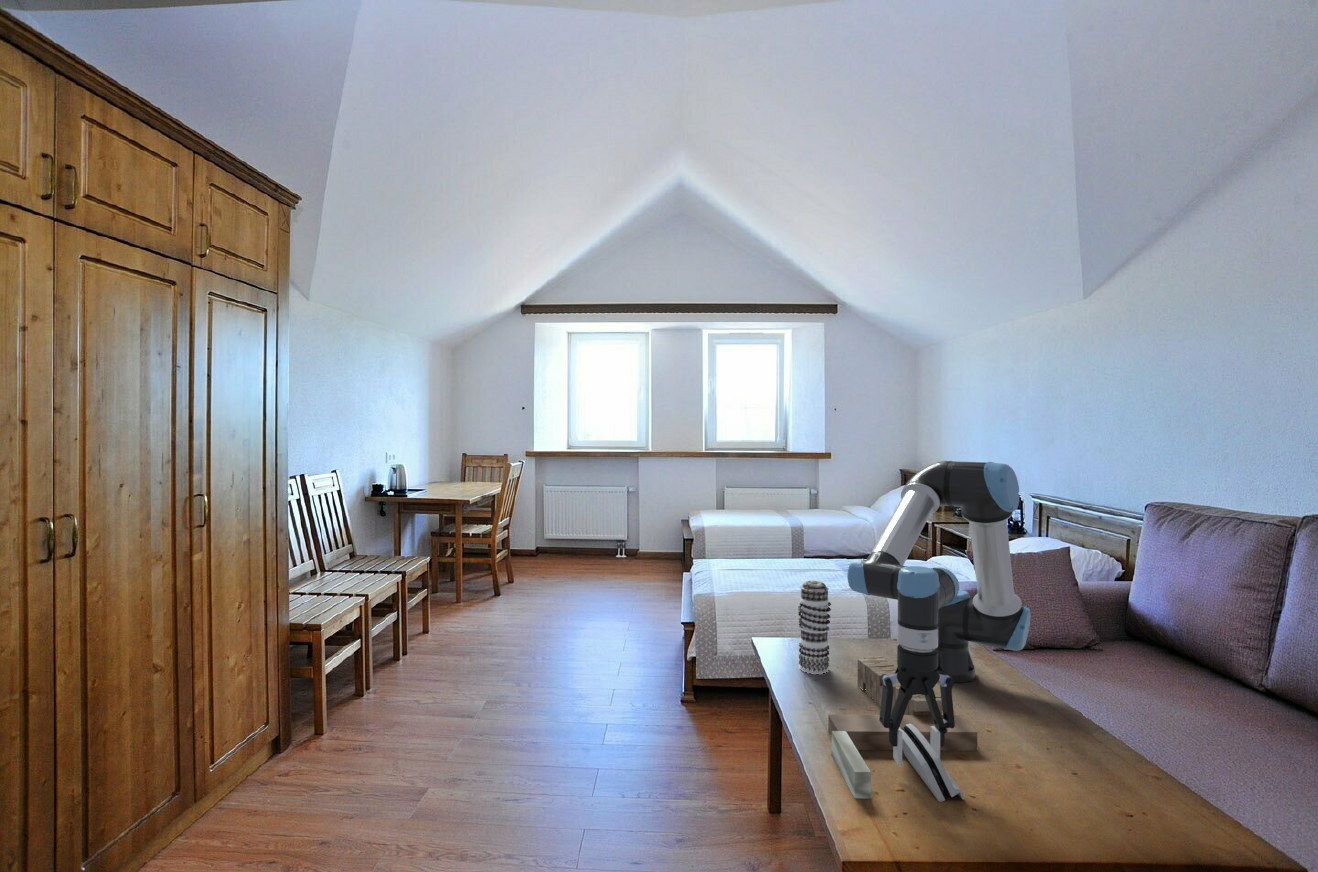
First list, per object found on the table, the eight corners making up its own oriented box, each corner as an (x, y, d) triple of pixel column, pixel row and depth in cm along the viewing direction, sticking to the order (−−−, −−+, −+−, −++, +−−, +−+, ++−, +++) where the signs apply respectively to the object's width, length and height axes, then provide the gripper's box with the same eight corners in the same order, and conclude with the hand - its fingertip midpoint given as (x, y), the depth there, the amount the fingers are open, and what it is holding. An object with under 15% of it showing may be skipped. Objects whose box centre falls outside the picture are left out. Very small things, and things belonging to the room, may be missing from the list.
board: (959, 732, 145) (959, 711, 144) (1025, 799, 119) (1025, 773, 118) (819, 732, 145) (819, 710, 145) (854, 798, 119) (854, 772, 119)
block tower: (854, 688, 172) (914, 736, 143) (854, 657, 172) (914, 699, 143) (881, 686, 173) (946, 734, 144) (881, 655, 173) (946, 696, 145)
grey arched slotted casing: (966, 800, 118) (944, 751, 118) (942, 810, 118) (920, 761, 118) (928, 753, 134) (909, 711, 134) (908, 763, 134) (888, 720, 134)
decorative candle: (834, 675, 178) (835, 586, 178) (801, 675, 178) (801, 586, 178) (826, 663, 187) (826, 578, 187) (794, 662, 187) (795, 578, 187)
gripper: (874, 652, 122) (873, 771, 122) (976, 653, 122) (975, 772, 122) (861, 639, 129) (860, 751, 130) (957, 640, 129) (956, 752, 130)
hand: (916, 761), depth 126 cm, fingers open, 7 cm apart
